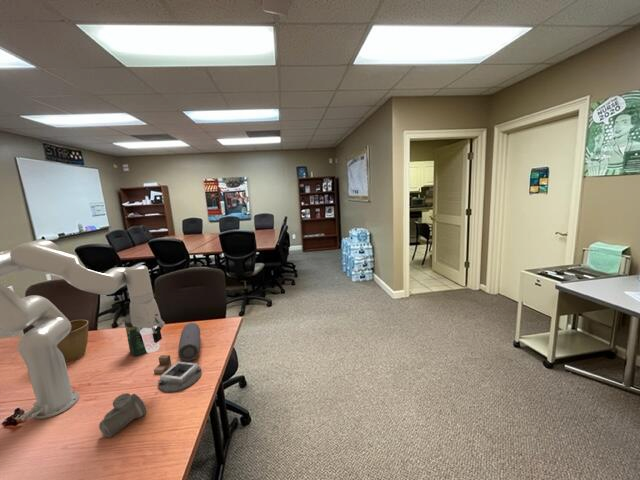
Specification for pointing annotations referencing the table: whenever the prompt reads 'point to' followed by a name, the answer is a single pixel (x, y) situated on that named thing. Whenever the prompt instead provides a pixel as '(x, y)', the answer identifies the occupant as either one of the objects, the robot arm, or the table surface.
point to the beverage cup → (149, 340)
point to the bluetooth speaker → (189, 342)
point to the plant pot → (75, 341)
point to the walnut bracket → (163, 364)
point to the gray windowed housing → (179, 377)
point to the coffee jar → (134, 338)
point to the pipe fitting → (122, 413)
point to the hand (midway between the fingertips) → (151, 340)
